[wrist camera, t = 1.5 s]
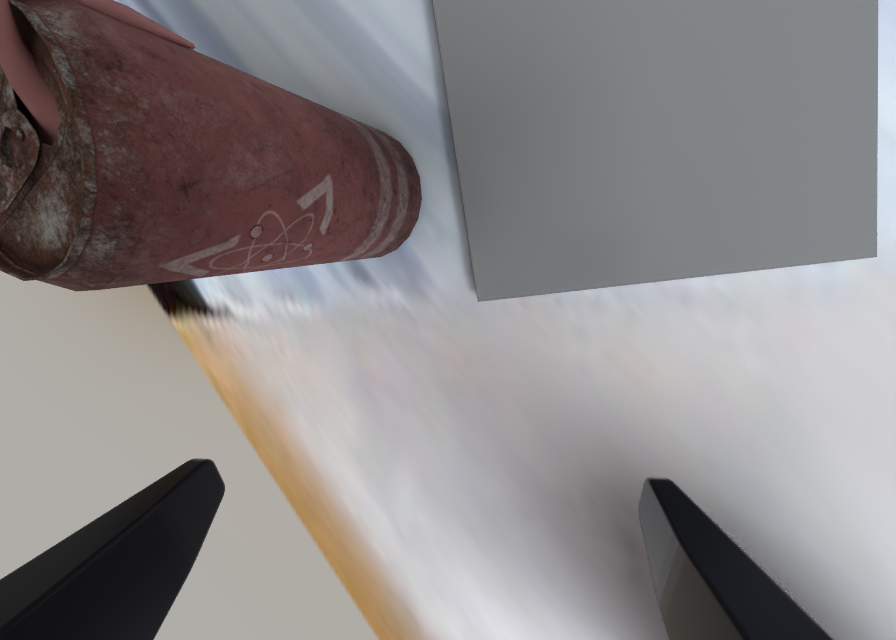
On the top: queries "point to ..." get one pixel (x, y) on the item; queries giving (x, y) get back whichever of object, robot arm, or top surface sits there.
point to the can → (174, 159)
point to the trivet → (660, 137)
